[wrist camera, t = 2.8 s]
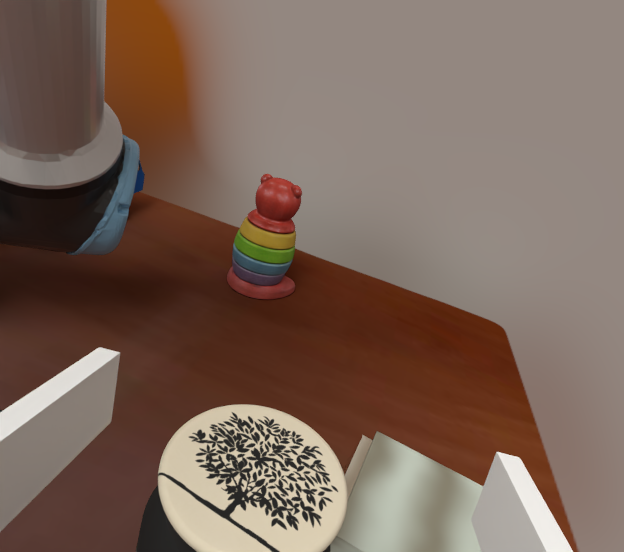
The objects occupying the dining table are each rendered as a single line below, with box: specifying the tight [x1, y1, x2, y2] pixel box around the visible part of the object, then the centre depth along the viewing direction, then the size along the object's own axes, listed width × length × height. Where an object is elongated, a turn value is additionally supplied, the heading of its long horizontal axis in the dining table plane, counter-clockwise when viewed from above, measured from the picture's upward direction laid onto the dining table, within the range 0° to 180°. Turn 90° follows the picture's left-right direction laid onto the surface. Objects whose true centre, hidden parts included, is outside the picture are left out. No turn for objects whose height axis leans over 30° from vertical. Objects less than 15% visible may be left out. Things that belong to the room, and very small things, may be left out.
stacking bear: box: [227, 174, 302, 299], centre depth 68 cm, size 11×10×18 cm
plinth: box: [330, 431, 483, 552], centre depth 35 cm, size 14×14×5 cm
